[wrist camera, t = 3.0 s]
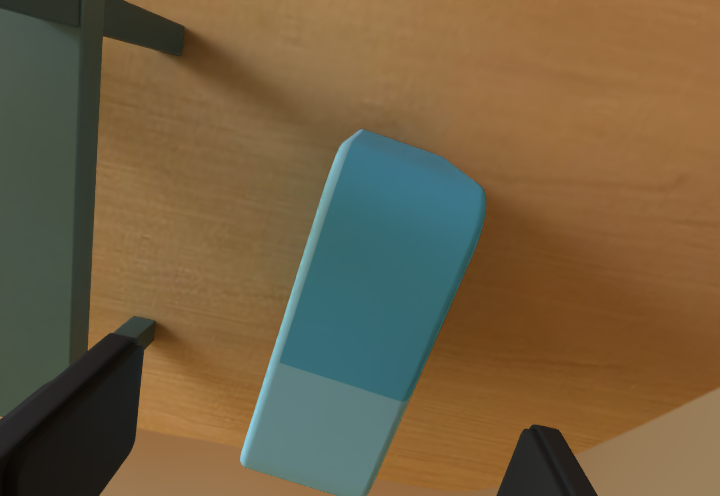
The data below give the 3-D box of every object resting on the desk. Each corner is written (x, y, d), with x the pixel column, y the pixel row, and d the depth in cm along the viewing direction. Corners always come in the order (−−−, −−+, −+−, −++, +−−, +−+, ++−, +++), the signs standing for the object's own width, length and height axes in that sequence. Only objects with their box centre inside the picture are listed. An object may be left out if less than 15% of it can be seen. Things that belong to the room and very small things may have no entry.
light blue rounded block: (368, 348, 27) (357, 526, 15) (295, 325, 27) (229, 487, 15) (442, 155, 23) (500, 197, 12) (360, 126, 23) (337, 141, 12)
